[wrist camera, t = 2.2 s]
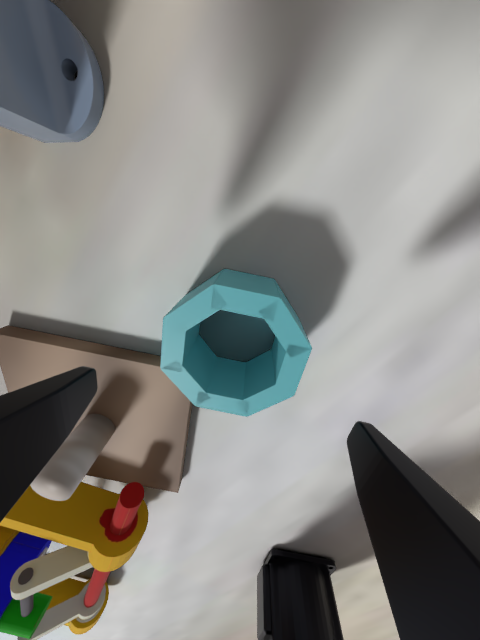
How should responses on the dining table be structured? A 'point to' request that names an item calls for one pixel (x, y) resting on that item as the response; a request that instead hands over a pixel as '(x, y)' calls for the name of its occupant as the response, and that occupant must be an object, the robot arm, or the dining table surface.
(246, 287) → the ring
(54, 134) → the vise
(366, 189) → the dining table surface
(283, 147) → the dining table surface
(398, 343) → the dining table surface
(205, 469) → the dining table surface
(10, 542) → the yellow jointed frame
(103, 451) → the post stand
